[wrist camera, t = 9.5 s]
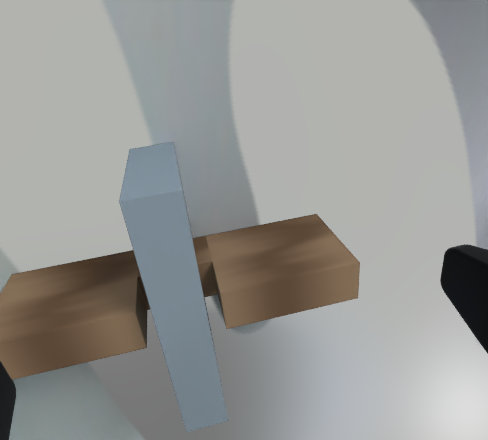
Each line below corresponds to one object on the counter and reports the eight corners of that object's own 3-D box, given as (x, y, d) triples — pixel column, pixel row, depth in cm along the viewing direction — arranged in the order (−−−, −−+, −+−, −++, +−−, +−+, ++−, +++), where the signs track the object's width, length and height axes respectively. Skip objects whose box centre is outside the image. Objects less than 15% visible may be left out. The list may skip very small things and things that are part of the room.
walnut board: (316, 213, 21) (359, 262, 16) (316, 244, 22) (358, 298, 17) (11, 274, 19) (-32, 349, 14) (27, 305, 19) (-10, 384, 15)
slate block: (211, 332, 23) (228, 420, 18) (178, 339, 23) (186, 432, 17) (173, 142, 17) (182, 190, 12) (129, 149, 17) (118, 201, 12)
